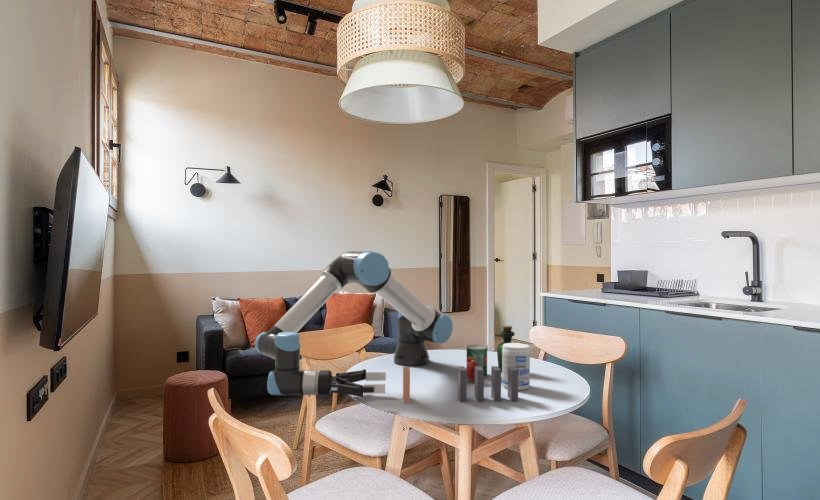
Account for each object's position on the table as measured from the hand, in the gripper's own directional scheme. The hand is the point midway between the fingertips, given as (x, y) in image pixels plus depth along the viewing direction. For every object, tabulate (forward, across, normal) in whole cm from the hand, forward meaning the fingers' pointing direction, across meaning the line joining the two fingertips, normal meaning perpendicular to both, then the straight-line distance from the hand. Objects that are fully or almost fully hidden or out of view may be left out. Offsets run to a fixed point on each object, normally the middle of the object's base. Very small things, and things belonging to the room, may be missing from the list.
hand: (385, 382), depth 149 cm
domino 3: (+36, 0, -6) cm, 36 cm away
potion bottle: (+48, -34, -6) cm, 59 cm away
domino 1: (+25, 0, -6) cm, 25 cm away
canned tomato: (+35, -28, -6) cm, 45 cm away
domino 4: (+41, 0, -6) cm, 42 cm away
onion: (+32, -20, -6) cm, 38 cm away
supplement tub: (+46, -14, -6) cm, 48 cm away
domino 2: (+30, 0, -6) cm, 31 cm away
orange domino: (+7, 0, -6) cm, 9 cm away
